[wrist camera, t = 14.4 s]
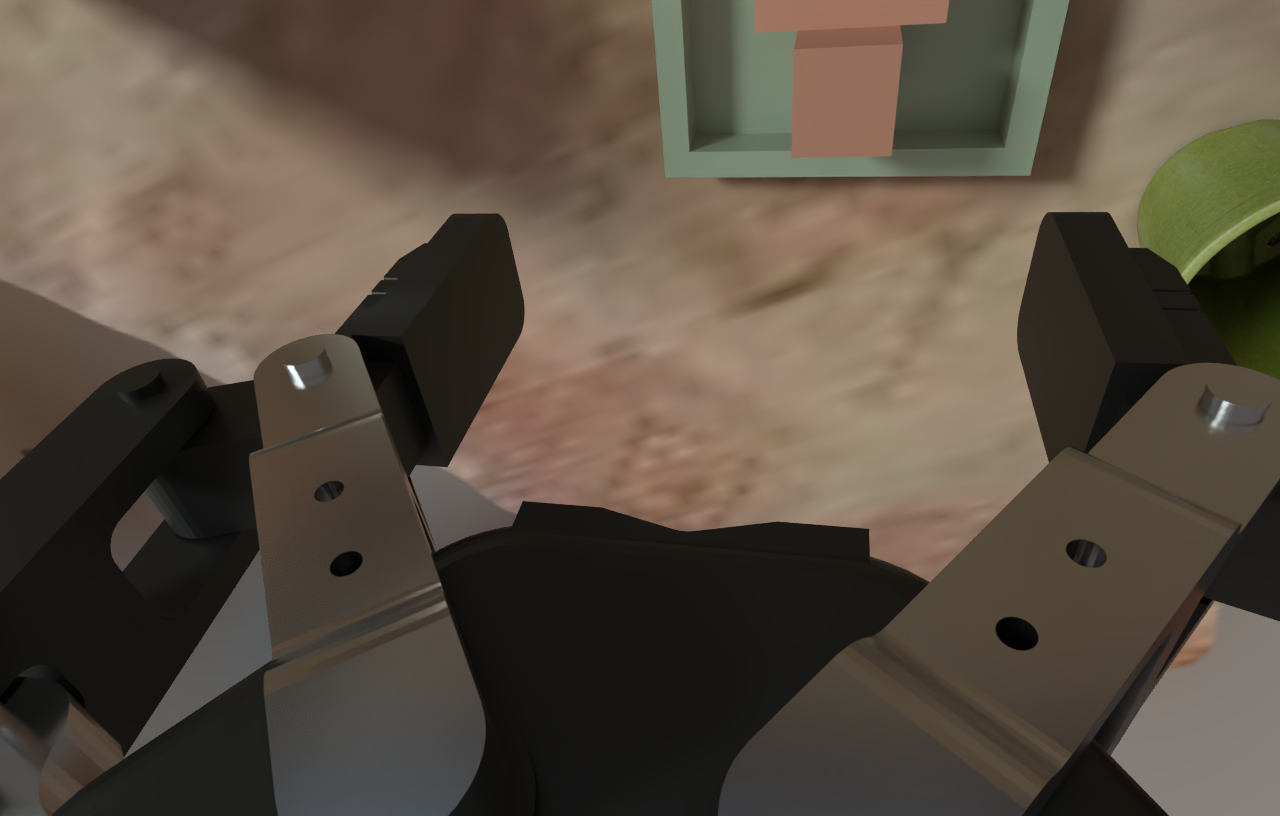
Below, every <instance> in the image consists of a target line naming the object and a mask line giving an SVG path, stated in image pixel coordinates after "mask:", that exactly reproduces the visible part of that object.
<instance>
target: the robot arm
mask: <svg viewBox="0 0 1280 816" xmlns="http://www.w3.org/2000/svg"><path fill="white" fill-rule="evenodd" d="M1190 291H1191V290H1190V288H1189V287H1188V285H1187V283H1186V282H1185V280H1184V278H1183V277H1182V275H1181V274H1180V272H1179V270H1178V269H1177V267H1175V266H1174V265H1172V264H1171V263H1169V262H1168V261H1166V260H1165V259H1163V258H1162V257H1160V256H1159V255H1157V254H1156V253H1154V252H1153V251H1151V250H1150V249H1148V248H1128V246H1127V244H1126V242H1125V240H1124V239H1123V237H1122V235H1121V233H1120V231H1119V229H1118V228H1117V226H1116V224H1115V222H1114V220H1113V218H1112V217H1111V215H1110V214H1109V213H1108V212H1048V213H1047V214H1046V215H1045V216H1044V218H1043V220H1042V222H1041V225H1040V228H1039V232H1038V236H1037V240H1036V244H1035V248H1034V252H1033V257H1032V261H1031V265H1030V269H1029V273H1028V277H1027V282H1026V286H1025V290H1024V294H1023V298H1022V303H1021V307H1020V311H1019V318H1018V328H1017V343H1018V351H1019V355H1020V359H1021V363H1022V366H1023V370H1024V373H1025V377H1026V381H1027V384H1028V388H1029V392H1030V395H1031V399H1032V403H1033V406H1034V410H1035V414H1036V417H1037V421H1038V424H1039V428H1040V432H1041V435H1042V439H1043V443H1044V446H1045V450H1046V454H1047V457H1048V461H1049V464H1048V465H1047V466H1046V467H1045V468H1044V469H1043V470H1042V471H1041V472H1040V473H1039V474H1038V475H1037V476H1036V477H1035V478H1034V479H1033V480H1032V481H1031V482H1030V483H1029V484H1028V485H1027V486H1026V487H1025V488H1024V489H1023V490H1022V491H1021V492H1020V493H1019V494H1018V495H1017V496H1016V497H1015V498H1014V499H1013V500H1012V501H1011V502H1010V503H1009V504H1008V505H1007V506H1006V507H1005V508H1004V509H1003V510H1002V511H1001V512H1000V513H999V514H998V515H997V516H996V517H995V518H994V519H993V520H992V521H991V522H990V523H989V524H988V525H987V526H986V527H985V528H984V529H983V530H982V531H981V532H980V533H979V534H978V535H977V536H976V537H975V538H974V539H973V540H972V541H971V542H970V543H969V544H968V545H967V546H966V547H965V548H964V549H963V550H962V551H961V552H960V553H959V554H958V555H957V556H956V557H955V558H954V559H953V560H952V561H951V562H950V563H949V564H948V565H947V566H946V567H945V568H944V569H943V570H942V571H941V572H940V573H939V574H938V575H937V576H936V577H935V578H934V579H933V580H932V581H931V582H929V581H927V580H925V579H923V578H921V577H919V576H917V575H915V574H913V573H911V572H910V571H908V570H905V569H903V568H900V567H898V566H895V565H893V564H890V563H888V562H885V561H882V560H879V559H876V558H873V557H870V549H869V529H863V528H850V527H838V526H825V525H813V524H800V523H788V522H771V523H762V524H753V525H744V526H736V527H727V528H718V529H709V530H701V531H690V532H686V531H678V530H674V529H671V528H668V527H664V526H661V525H658V524H654V523H651V522H648V521H644V520H641V519H638V518H635V517H631V516H628V515H625V514H621V513H618V512H615V511H611V510H608V509H605V508H601V507H588V506H576V505H563V504H551V503H538V502H526V501H523V502H522V504H521V507H520V509H519V511H518V514H517V516H516V518H515V521H514V523H513V526H510V527H503V528H499V529H494V530H490V531H485V532H482V533H479V534H476V535H472V536H469V537H466V538H464V539H462V540H459V541H457V542H454V543H452V544H450V545H448V546H445V547H444V548H442V549H440V550H437V547H436V544H435V541H434V539H433V536H432V533H431V530H430V528H429V525H428V522H427V519H426V517H425V514H424V511H423V509H422V506H421V503H420V500H419V498H418V495H417V492H416V490H415V487H414V484H413V482H412V479H411V477H410V474H411V472H412V471H413V469H414V467H415V466H416V465H426V466H427V465H428V466H440V467H448V465H449V463H450V461H451V460H452V458H453V456H454V454H455V452H456V451H457V449H458V447H459V445H460V443H461V442H462V440H463V438H464V436H465V434H466V432H467V431H468V429H469V427H470V425H471V423H472V422H473V420H474V418H475V416H476V414H477V413H478V411H479V409H480V407H481V405H482V403H483V402H484V400H485V398H486V396H487V394H488V393H489V391H490V389H491V387H492V385H493V384H494V382H495V380H496V378H497V376H498V374H499V373H500V371H501V369H502V367H503V365H504V364H505V362H506V360H507V358H508V356H509V355H510V353H511V351H512V349H513V347H514V345H515V344H516V342H517V340H518V338H519V336H520V334H521V331H522V328H523V323H524V300H523V294H522V290H521V286H520V281H519V277H518V272H517V268H516V264H515V259H514V255H513V250H512V246H511V242H510V237H509V233H508V229H507V226H506V223H505V221H504V219H503V218H502V216H501V215H499V214H453V215H451V216H450V217H449V218H448V219H447V221H446V222H445V223H444V224H443V225H442V227H441V228H440V229H439V230H438V231H437V233H436V234H435V235H434V236H433V237H432V239H431V240H430V241H429V242H428V243H424V244H423V245H421V246H419V247H418V248H416V249H415V250H413V251H411V252H410V253H408V254H407V255H405V256H403V257H402V258H400V259H399V260H398V261H397V262H396V263H395V265H394V266H393V267H392V268H391V269H390V270H389V271H388V273H387V274H386V275H385V276H384V280H381V281H380V282H379V283H378V284H377V285H376V286H375V288H374V289H373V290H372V295H368V296H367V297H366V298H365V299H364V300H363V302H362V303H361V304H360V305H359V306H358V307H357V308H356V310H355V311H354V312H353V313H352V314H351V315H350V317H349V318H348V319H347V320H346V321H345V322H344V324H343V325H342V326H341V327H340V328H339V329H338V330H337V332H336V333H335V334H322V335H315V336H309V337H306V338H302V339H299V340H296V341H293V342H291V343H289V344H287V345H284V346H282V347H281V348H279V349H277V350H276V351H274V352H273V353H271V354H270V355H269V356H267V357H266V358H265V359H264V360H263V361H262V362H261V363H260V364H259V366H258V367H257V369H256V371H255V374H254V380H251V381H245V382H239V383H233V384H227V385H222V386H215V387H209V388H207V386H206V385H205V383H204V381H203V379H202V378H201V376H200V374H199V372H198V371H197V369H196V367H195V365H193V364H192V363H191V362H189V361H187V360H183V359H161V360H155V361H152V362H147V363H144V364H141V365H138V366H135V367H133V368H130V369H128V370H126V371H124V372H121V373H120V374H118V375H116V376H114V377H113V378H111V379H110V380H108V381H106V382H105V383H104V384H103V385H101V386H100V387H99V388H98V389H97V390H96V391H94V392H93V393H92V394H91V395H90V396H89V397H88V398H87V399H86V400H85V401H84V402H83V403H82V404H81V405H79V407H77V408H76V409H75V410H74V411H73V412H72V413H71V414H70V415H69V416H68V417H67V418H66V419H65V420H63V421H62V422H61V423H60V424H59V425H58V426H57V427H56V428H55V429H54V430H53V431H52V432H51V433H50V434H48V435H47V436H46V437H45V438H44V439H43V440H42V441H41V442H40V443H39V444H38V445H37V446H36V447H35V448H33V449H32V450H31V451H30V452H29V453H28V454H27V455H26V456H25V457H24V458H23V459H22V460H21V461H20V462H19V463H18V464H16V465H15V466H14V467H13V468H12V469H11V470H10V471H9V472H8V473H7V474H6V475H5V476H4V477H2V478H1V479H0V816H1169V815H1168V814H1167V813H1166V812H1165V811H1164V810H1163V809H1162V808H1161V807H1160V806H1159V805H1158V804H1157V803H1156V802H1155V801H1154V800H1153V799H1152V798H1151V797H1150V796H1149V795H1148V794H1147V793H1146V792H1145V791H1144V790H1143V789H1142V788H1141V787H1140V786H1139V785H1138V784H1137V783H1136V782H1135V781H1134V779H1133V778H1132V777H1131V776H1130V775H1129V774H1128V773H1127V772H1126V771H1125V770H1124V769H1123V768H1122V767H1121V766H1120V765H1119V764H1118V763H1117V762H1116V761H1115V760H1114V759H1113V758H1112V757H1111V754H1112V753H1113V751H1114V750H1115V748H1116V746H1117V745H1118V743H1119V742H1120V740H1121V738H1122V737H1123V735H1124V734H1125V732H1126V731H1127V729H1128V727H1129V726H1130V724H1131V723H1132V721H1133V719H1134V718H1135V716H1136V715H1137V713H1138V711H1139V710H1140V708H1141V707H1142V705H1143V704H1144V702H1145V701H1146V699H1147V698H1148V696H1149V695H1150V694H1151V692H1152V691H1153V689H1154V688H1155V686H1156V685H1157V684H1158V682H1159V681H1160V679H1161V678H1162V676H1163V675H1164V673H1165V672H1166V671H1167V669H1168V668H1169V666H1170V665H1171V663H1172V662H1173V661H1174V659H1175V658H1176V656H1177V655H1178V653H1179V652H1180V651H1181V649H1182V648H1183V646H1184V645H1185V643H1186V642H1187V641H1188V639H1189V638H1190V636H1191V635H1192V633H1193V632H1194V630H1195V629H1196V628H1197V626H1198V625H1199V623H1200V622H1201V620H1202V619H1203V618H1204V616H1205V615H1206V613H1207V612H1208V610H1209V609H1210V607H1211V606H1212V605H1213V603H1214V601H1218V602H1221V603H1224V604H1227V605H1230V606H1233V607H1237V608H1240V609H1243V610H1246V611H1249V612H1253V613H1256V614H1259V615H1262V616H1265V617H1268V618H1271V619H1274V620H1277V621H1280V381H1279V380H1277V379H1275V378H1273V377H1271V376H1269V375H1266V374H1263V373H1261V372H1258V371H1255V370H1251V369H1248V368H1244V367H1239V366H1237V364H1236V363H1235V361H1234V360H1233V358H1232V356H1231V355H1230V353H1229V351H1228V350H1227V348H1226V347H1225V345H1224V343H1223V342H1222V340H1221V338H1220V337H1219V335H1218V334H1217V332H1216V330H1215V329H1214V327H1213V326H1212V324H1211V322H1210V321H1209V319H1208V317H1207V316H1206V314H1202V308H1201V306H1200V304H1199V303H1198V301H1197V300H1196V298H1195V296H1194V295H1190ZM144 491H145V492H146V493H147V495H148V496H149V498H150V499H151V501H152V502H153V503H154V505H155V506H156V508H157V509H158V510H159V512H160V513H161V515H162V516H163V517H164V521H163V522H162V523H161V524H160V526H159V527H158V528H157V530H156V531H155V532H154V533H153V534H152V536H151V537H150V538H149V539H148V541H147V542H146V543H145V544H144V546H143V547H142V548H141V549H140V551H139V552H138V553H137V554H136V556H135V557H134V558H133V559H132V561H131V562H130V563H129V564H128V566H127V567H126V568H125V569H124V571H123V572H122V571H121V570H120V569H119V568H118V566H117V565H116V563H115V562H114V560H113V558H112V555H111V548H110V543H111V537H112V533H113V531H114V528H115V527H116V525H117V523H118V522H119V521H120V519H121V518H122V517H123V515H125V513H126V512H127V511H128V510H129V509H130V508H131V506H132V505H133V504H134V503H135V502H136V501H137V499H138V498H139V497H140V496H141V495H142V494H143V493H144ZM259 550H260V556H261V564H262V573H263V581H264V589H265V598H266V606H267V614H268V622H269V630H270V639H271V647H272V660H271V661H270V662H268V663H267V664H265V665H264V666H263V667H261V668H260V669H258V670H256V671H255V672H254V673H252V674H250V675H249V676H248V677H246V678H244V679H243V680H242V681H240V682H238V683H237V684H236V685H234V686H233V687H231V688H229V689H228V690H227V691H225V692H223V693H222V694H220V695H219V696H217V697H216V698H214V699H213V700H212V701H210V702H209V703H207V704H206V705H204V706H203V707H201V708H200V709H198V710H197V711H195V712H194V713H192V714H191V715H189V716H188V717H186V718H185V719H183V720H182V721H180V722H179V723H177V724H176V725H174V726H173V727H171V728H170V729H168V730H167V731H165V732H164V733H162V734H161V735H159V736H158V737H156V738H155V739H153V740H152V741H150V742H149V743H147V744H146V745H144V746H143V747H141V748H140V749H138V750H137V751H135V752H134V753H132V754H131V755H129V756H128V757H126V758H125V759H123V758H124V757H125V755H126V753H127V752H128V750H129V749H130V747H131V746H132V744H133V743H134V741H135V740H136V738H137V737H138V735H139V734H140V732H141V730H142V729H143V727H144V726H145V724H146V723H147V721H148V720H149V718H150V717H151V715H152V714H153V712H154V711H155V709H156V707H157V706H158V704H159V703H160V701H161V700H162V698H163V697H164V695H165V693H166V692H167V691H168V689H169V688H170V686H171V684H172V683H173V681H174V680H175V678H176V677H177V675H178V674H179V672H180V671H181V669H182V667H183V666H184V665H185V663H186V662H187V660H188V658H189V657H190V655H191V654H192V652H193V651H194V649H195V647H196V646H197V645H198V643H199V641H200V640H201V639H202V637H203V635H204V634H205V632H206V631H207V629H208V628H209V626H210V625H211V623H212V622H213V620H214V619H215V617H216V615H217V614H218V613H219V611H220V609H221V608H222V606H223V605H224V603H225V602H226V600H227V599H228V597H229V596H230V594H231V593H232V591H233V590H234V588H235V587H236V585H237V584H238V582H239V580H240V579H241V577H242V576H243V574H244V573H245V571H246V570H247V568H248V567H249V565H250V564H251V562H252V561H253V559H254V557H255V556H256V554H257V553H258V551H259Z"/></svg>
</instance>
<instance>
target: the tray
mask: <svg viewBox="0 0 1280 816" xmlns="http://www.w3.org/2000/svg"><path fill="white" fill-rule="evenodd" d="M1068 4H1069V0H949V7H948V14H947V22H946V23H937V24H918V25H900V28H901V35H902V41H903V49H902V59H901V69H900V78H899V88H898V98H897V108H896V118H895V127H894V137H893V147H892V156H872V157H811V158H791V149H792V102H793V54H794V45H795V40H796V36H797V31H783V32H764V33H755V0H652V12H653V25H654V38H655V51H656V64H657V77H658V90H659V103H660V116H661V129H662V142H663V155H664V168H665V178H724V177H890V176H1030V174H1031V170H1032V165H1033V161H1034V157H1035V152H1036V148H1037V143H1038V139H1039V134H1040V130H1041V125H1042V121H1043V116H1044V112H1045V107H1046V103H1047V98H1048V94H1049V89H1050V85H1051V80H1052V76H1053V72H1054V67H1055V63H1056V58H1057V54H1058V49H1059V45H1060V40H1061V36H1062V31H1063V27H1064V22H1065V18H1066V13H1067V9H1068Z"/></svg>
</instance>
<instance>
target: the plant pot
mask: <svg viewBox="0 0 1280 816" xmlns="http://www.w3.org/2000/svg"><path fill="white" fill-rule="evenodd" d="M1137 229H1138V238H1139V242H1140V246H1141V248H1148V249H1150V250H1151V251H1153V252H1154V253H1156V254H1157V255H1159V256H1160V257H1162V258H1163V259H1165V260H1166V261H1168V262H1169V263H1171V264H1172V265H1174V266H1175V267H1177V269H1178V270H1179V272H1180V274H1181V275H1182V277H1183V278H1184V280H1185V282H1186V283H1187V285H1188V287H1189V288H1190V290H1191V291H1190V295H1194V296H1195V298H1196V300H1197V301H1198V303H1199V304H1200V306H1201V308H1202V314H1206V316H1207V317H1208V319H1209V321H1210V322H1211V324H1212V326H1213V327H1214V329H1215V330H1216V332H1217V334H1218V335H1219V337H1220V338H1221V340H1222V342H1223V343H1224V345H1225V347H1226V348H1227V350H1228V351H1229V353H1230V355H1231V356H1232V358H1233V360H1234V361H1235V363H1236V364H1237V366H1239V367H1244V368H1248V369H1251V370H1255V371H1258V372H1261V373H1263V374H1266V375H1269V376H1271V377H1273V378H1275V379H1277V380H1279V381H1280V242H1279V243H1277V244H1274V245H1272V246H1270V245H1269V244H1268V241H1269V240H1270V239H1271V238H1273V237H1275V236H1276V235H1277V234H1278V233H1279V232H1280V120H1258V121H1254V122H1251V123H1247V124H1243V125H1240V126H1236V127H1232V128H1228V129H1224V130H1221V131H1217V132H1213V133H1209V134H1207V135H1205V136H1202V137H1201V138H1199V139H1197V140H1195V141H1193V142H1192V143H1190V144H1189V145H1187V146H1186V147H1184V148H1183V149H1182V150H1180V151H1179V152H1177V153H1176V154H1175V155H1174V156H1173V157H1172V158H1170V159H1169V160H1168V161H1167V162H1166V163H1165V164H1164V165H1163V166H1162V167H1161V169H1160V170H1159V171H1158V172H1157V173H1156V175H1155V176H1154V177H1153V179H1152V180H1151V182H1150V184H1149V185H1148V187H1147V189H1146V190H1145V193H1144V195H1143V197H1142V199H1141V202H1140V205H1139V211H1138V222H1137Z"/></svg>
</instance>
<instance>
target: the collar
mask: <svg viewBox="0 0 1280 816" xmlns="http://www.w3.org/2000/svg"><path fill="white" fill-rule="evenodd" d="M948 7H949V0H755V33H764V32H783V31H797V36H796V40H795V45H794V54H793V102H792V149H791V158H811V157H872V156H892V147H893V137H894V127H895V118H896V108H897V98H898V88H899V78H900V69H901V59H902V49H903V41H902V35H901V28H900V25H918V24H937V23H946V22H947V14H948Z"/></svg>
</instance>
